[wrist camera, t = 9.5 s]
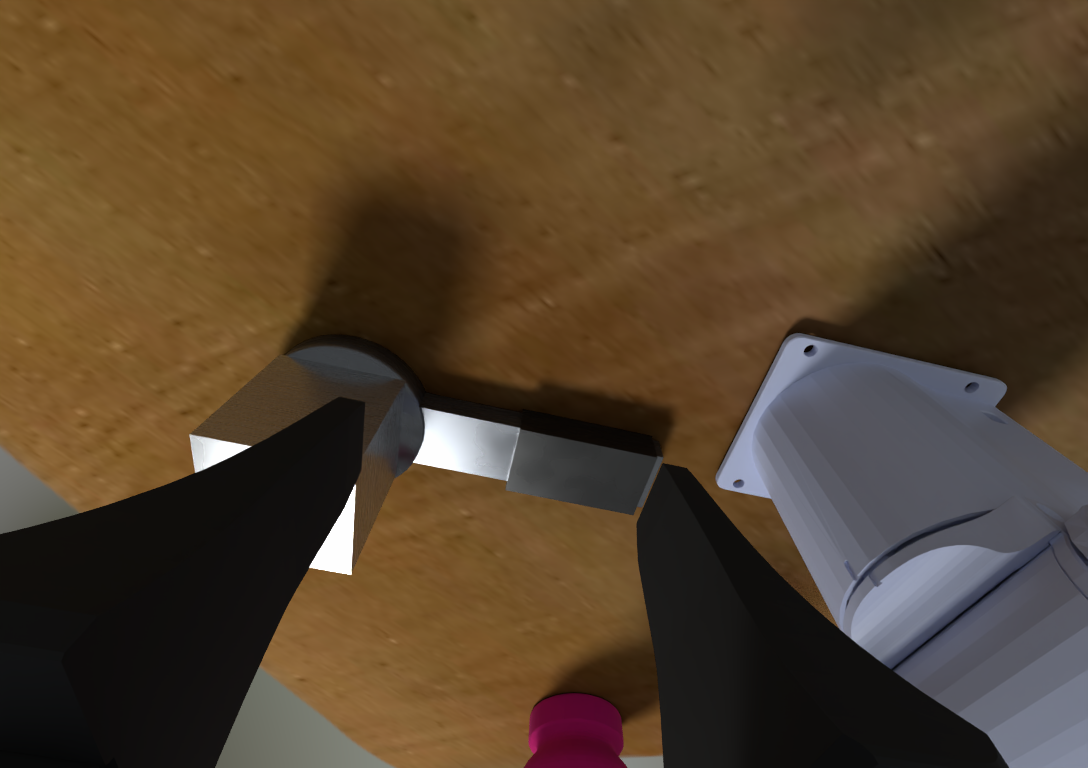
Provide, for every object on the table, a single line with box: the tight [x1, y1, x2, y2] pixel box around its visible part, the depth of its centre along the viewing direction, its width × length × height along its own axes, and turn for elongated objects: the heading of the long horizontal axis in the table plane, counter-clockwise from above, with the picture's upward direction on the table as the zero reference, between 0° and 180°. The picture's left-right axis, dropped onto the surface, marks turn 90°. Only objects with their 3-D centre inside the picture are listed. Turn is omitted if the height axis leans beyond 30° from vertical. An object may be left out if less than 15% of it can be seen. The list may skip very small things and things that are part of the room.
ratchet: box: [286, 335, 663, 515], centre depth 21 cm, size 17×7×4 cm, turn 77°
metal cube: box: [190, 354, 406, 575], centre depth 19 cm, size 5×5×6 cm
